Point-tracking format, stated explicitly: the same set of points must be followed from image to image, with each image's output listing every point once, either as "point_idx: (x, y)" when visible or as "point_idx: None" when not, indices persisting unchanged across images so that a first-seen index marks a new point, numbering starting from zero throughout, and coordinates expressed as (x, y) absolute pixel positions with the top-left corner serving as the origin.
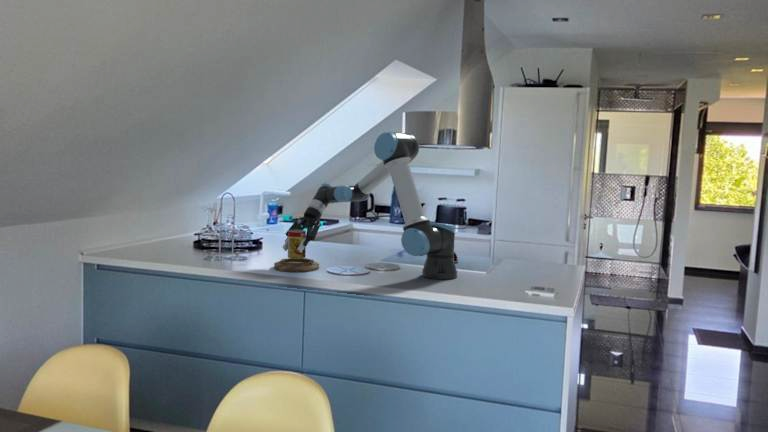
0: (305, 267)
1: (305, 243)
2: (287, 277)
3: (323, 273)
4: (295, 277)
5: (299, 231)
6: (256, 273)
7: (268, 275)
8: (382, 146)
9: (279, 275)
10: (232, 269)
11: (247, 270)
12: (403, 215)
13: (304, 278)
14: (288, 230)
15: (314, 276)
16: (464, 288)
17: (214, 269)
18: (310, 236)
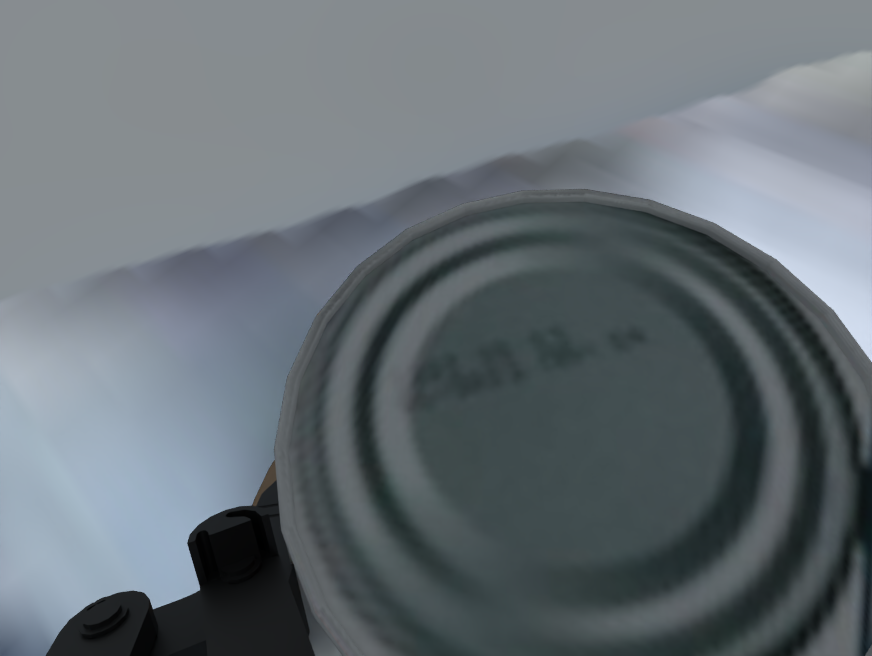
0: (266, 474)
1: (261, 496)
2: (250, 242)
3: (83, 572)
4: (201, 278)
5: (450, 421)
6: (524, 183)
7: (405, 198)
8: None
9: (347, 245)
10: (770, 152)
11: (672, 198)
12: None
13: (121, 299)
14: (772, 261)
15: (90, 403)
16: None
17: (829, 86)
18: (120, 604)
